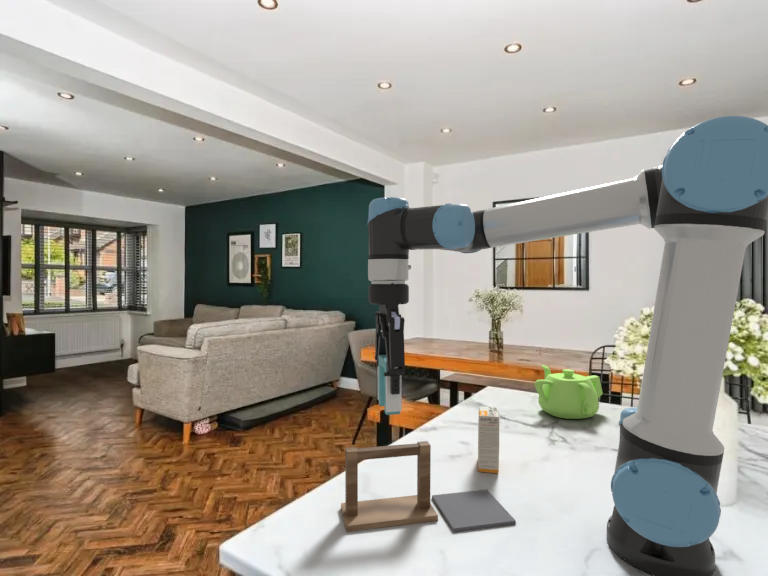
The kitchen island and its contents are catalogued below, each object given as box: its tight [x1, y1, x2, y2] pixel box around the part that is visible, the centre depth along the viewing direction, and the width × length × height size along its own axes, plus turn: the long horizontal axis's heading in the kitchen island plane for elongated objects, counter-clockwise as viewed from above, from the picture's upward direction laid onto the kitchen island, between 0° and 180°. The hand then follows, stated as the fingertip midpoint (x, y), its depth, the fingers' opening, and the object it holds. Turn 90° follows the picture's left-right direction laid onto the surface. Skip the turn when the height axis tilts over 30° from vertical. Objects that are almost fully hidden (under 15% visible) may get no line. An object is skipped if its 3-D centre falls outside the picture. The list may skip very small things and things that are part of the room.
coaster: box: [431, 489, 517, 533], centre depth 85 cm, size 12×12×1 cm
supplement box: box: [477, 406, 500, 474], centre depth 105 cm, size 8×5×13 cm, turn 168°
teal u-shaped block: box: [378, 355, 401, 416], centre depth 83 cm, size 7×2×10 cm, turn 12°
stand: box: [340, 440, 439, 533], centre depth 84 cm, size 8×17×13 cm, turn 102°
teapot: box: [534, 364, 604, 420], centre depth 145 cm, size 19×20×14 cm
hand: (389, 404), depth 83 cm, fingers closed on teal u-shaped block, 7 cm apart
